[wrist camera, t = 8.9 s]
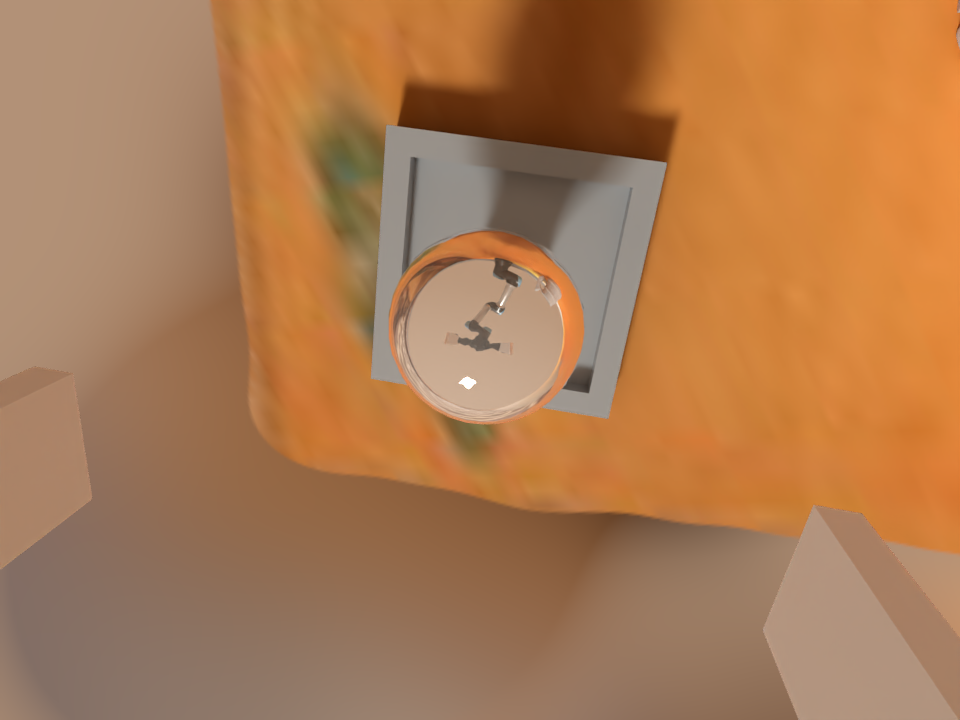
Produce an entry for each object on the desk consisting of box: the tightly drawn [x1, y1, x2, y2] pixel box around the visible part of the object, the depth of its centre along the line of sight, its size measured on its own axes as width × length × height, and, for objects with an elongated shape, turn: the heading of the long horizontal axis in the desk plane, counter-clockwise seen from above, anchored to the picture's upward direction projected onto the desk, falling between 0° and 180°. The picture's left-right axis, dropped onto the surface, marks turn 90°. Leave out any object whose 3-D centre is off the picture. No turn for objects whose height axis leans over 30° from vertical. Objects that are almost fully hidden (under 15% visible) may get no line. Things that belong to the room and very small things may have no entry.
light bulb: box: [389, 227, 585, 425], centre depth 23 cm, size 7×7×12 cm
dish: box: [371, 125, 667, 419], centre depth 28 cm, size 12×12×2 cm
